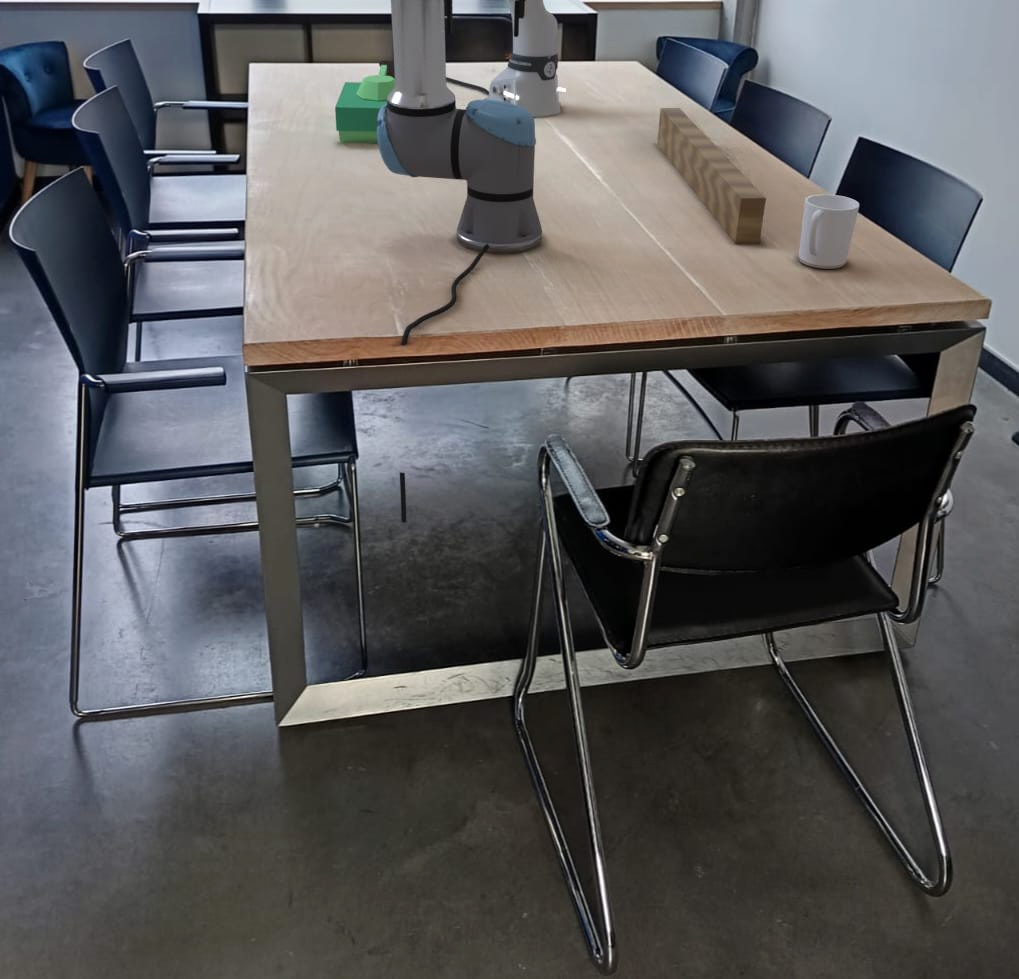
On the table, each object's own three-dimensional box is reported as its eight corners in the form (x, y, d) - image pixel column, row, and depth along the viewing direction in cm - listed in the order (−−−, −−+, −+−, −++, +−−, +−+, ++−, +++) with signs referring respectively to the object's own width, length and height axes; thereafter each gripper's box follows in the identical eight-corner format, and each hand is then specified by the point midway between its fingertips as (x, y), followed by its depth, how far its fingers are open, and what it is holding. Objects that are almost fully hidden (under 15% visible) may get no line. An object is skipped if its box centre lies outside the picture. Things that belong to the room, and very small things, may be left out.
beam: (759, 243, 197) (766, 198, 193) (735, 243, 197) (741, 198, 193) (676, 144, 257) (679, 107, 253) (657, 144, 257) (660, 107, 252)
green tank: (418, 61, 273) (414, 91, 243) (418, 112, 279) (415, 147, 249) (346, 59, 272) (334, 89, 242) (349, 110, 278) (337, 146, 249)
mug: (809, 248, 195) (819, 191, 189) (856, 260, 190) (868, 201, 185) (780, 264, 188) (790, 205, 182) (829, 277, 183) (840, 216, 177)
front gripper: (549, -83, 214) (545, 33, 225) (423, -87, 215) (425, 29, 226) (547, -80, 207) (542, 39, 218) (416, -84, 209) (419, 35, 220)
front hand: (483, 34), depth 222 cm, fingers open, 13 cm apart
